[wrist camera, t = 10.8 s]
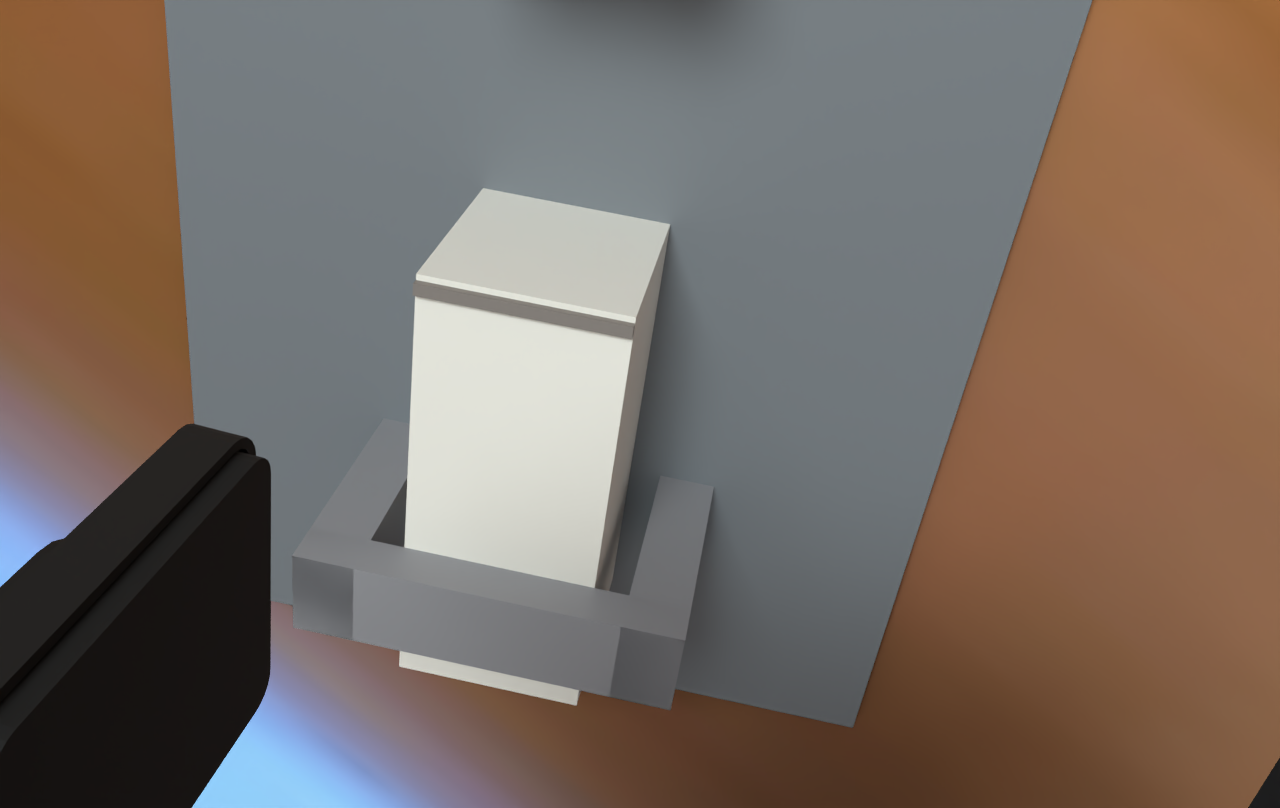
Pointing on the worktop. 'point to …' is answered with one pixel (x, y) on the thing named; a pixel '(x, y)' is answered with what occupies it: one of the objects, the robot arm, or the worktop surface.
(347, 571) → the grey board with blocks
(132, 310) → the worktop surface
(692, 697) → the worktop surface
